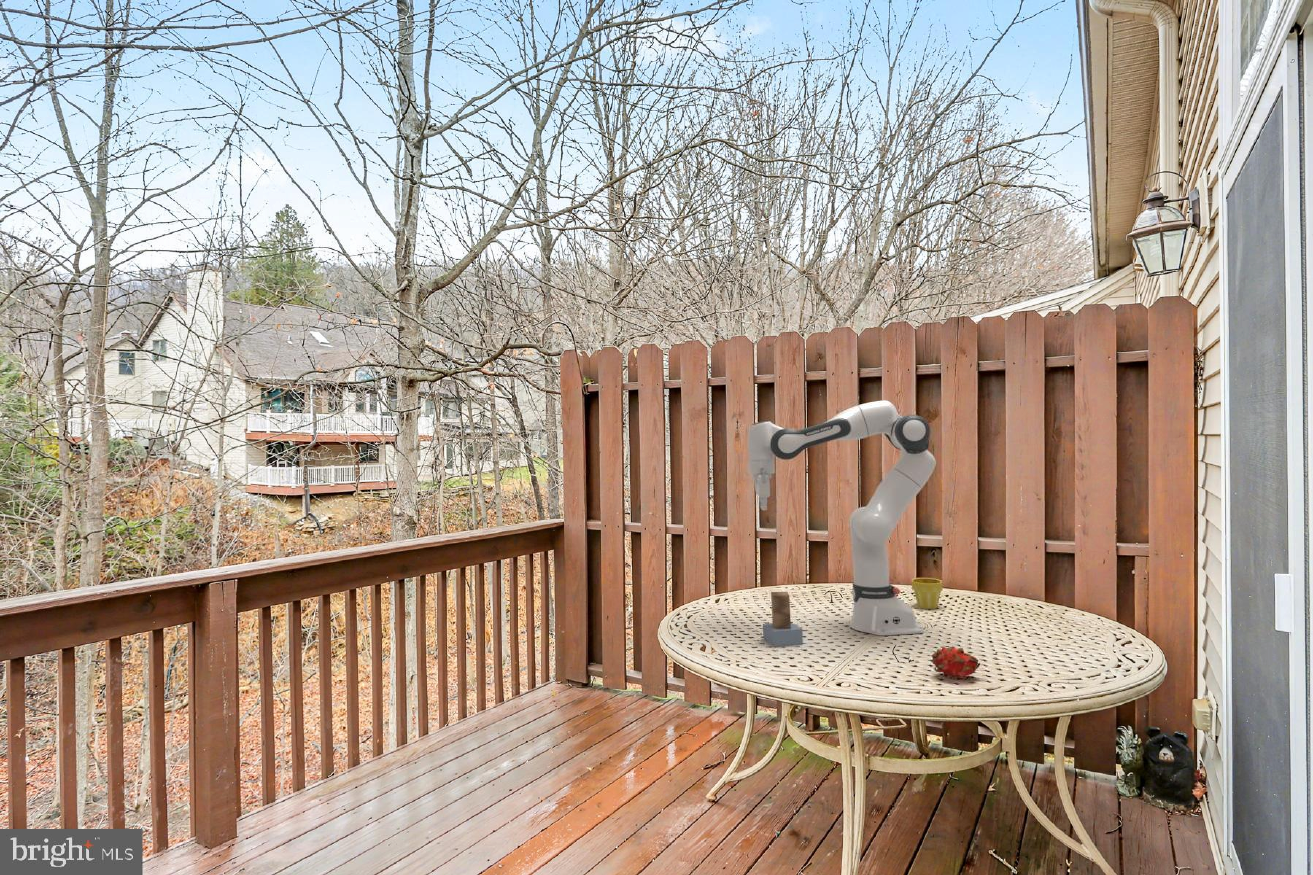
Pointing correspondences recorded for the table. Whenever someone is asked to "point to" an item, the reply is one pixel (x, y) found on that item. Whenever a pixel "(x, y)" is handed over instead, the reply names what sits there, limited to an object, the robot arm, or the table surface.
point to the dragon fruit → (954, 662)
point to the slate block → (783, 635)
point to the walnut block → (780, 610)
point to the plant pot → (927, 592)
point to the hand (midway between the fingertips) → (763, 508)
